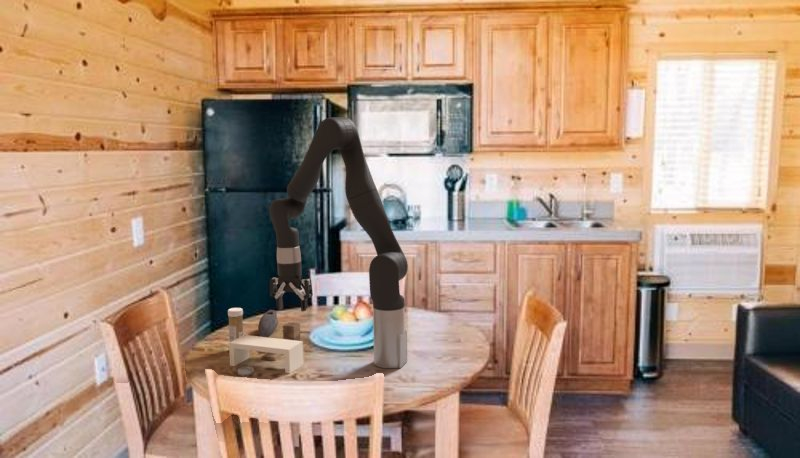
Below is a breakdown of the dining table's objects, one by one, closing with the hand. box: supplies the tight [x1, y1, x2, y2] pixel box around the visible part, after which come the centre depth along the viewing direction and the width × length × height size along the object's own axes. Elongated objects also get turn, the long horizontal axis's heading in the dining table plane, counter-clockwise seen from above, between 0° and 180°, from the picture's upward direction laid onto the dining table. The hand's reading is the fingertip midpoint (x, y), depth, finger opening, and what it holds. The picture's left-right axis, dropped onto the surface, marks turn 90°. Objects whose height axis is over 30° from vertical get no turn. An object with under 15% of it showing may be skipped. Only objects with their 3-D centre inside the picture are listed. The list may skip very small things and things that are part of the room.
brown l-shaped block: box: [261, 321, 301, 362], centre depth 197 cm, size 4×16×7 cm, turn 160°
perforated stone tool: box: [257, 309, 279, 338], centre depth 215 cm, size 15×5×7 cm, turn 175°
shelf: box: [228, 334, 305, 374], centre depth 185 cm, size 20×8×7 cm, turn 70°
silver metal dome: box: [237, 365, 255, 377], centre depth 179 cm, size 4×4×2 cm
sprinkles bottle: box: [227, 307, 245, 343], centre depth 198 cm, size 5×5×13 cm
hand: (292, 310), depth 202 cm, fingers open, 8 cm apart
